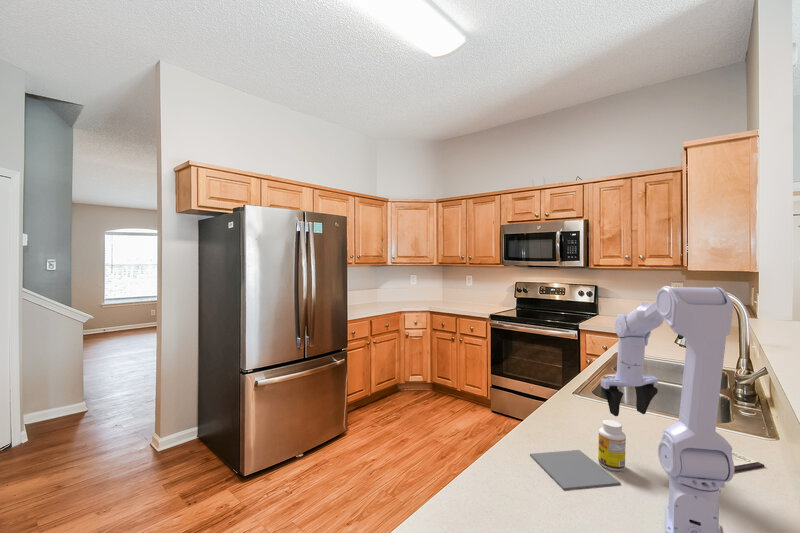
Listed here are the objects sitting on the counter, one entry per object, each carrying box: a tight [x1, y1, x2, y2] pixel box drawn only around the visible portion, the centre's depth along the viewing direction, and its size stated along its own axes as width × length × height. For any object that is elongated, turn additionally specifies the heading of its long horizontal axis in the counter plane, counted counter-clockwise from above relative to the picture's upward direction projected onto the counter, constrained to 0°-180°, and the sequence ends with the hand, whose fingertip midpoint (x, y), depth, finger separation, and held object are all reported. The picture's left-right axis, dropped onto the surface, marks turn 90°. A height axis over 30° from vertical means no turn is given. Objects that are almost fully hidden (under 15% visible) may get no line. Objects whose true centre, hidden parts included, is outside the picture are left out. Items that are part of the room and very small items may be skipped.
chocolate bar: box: [732, 450, 765, 473], centre depth 90 cm, size 9×1×18 cm
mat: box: [529, 449, 621, 491], centre depth 86 cm, size 14×14×1 cm
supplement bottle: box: [597, 419, 627, 472], centre depth 88 cm, size 6×6×10 cm
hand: (627, 413), depth 94 cm, fingers open, 7 cm apart
